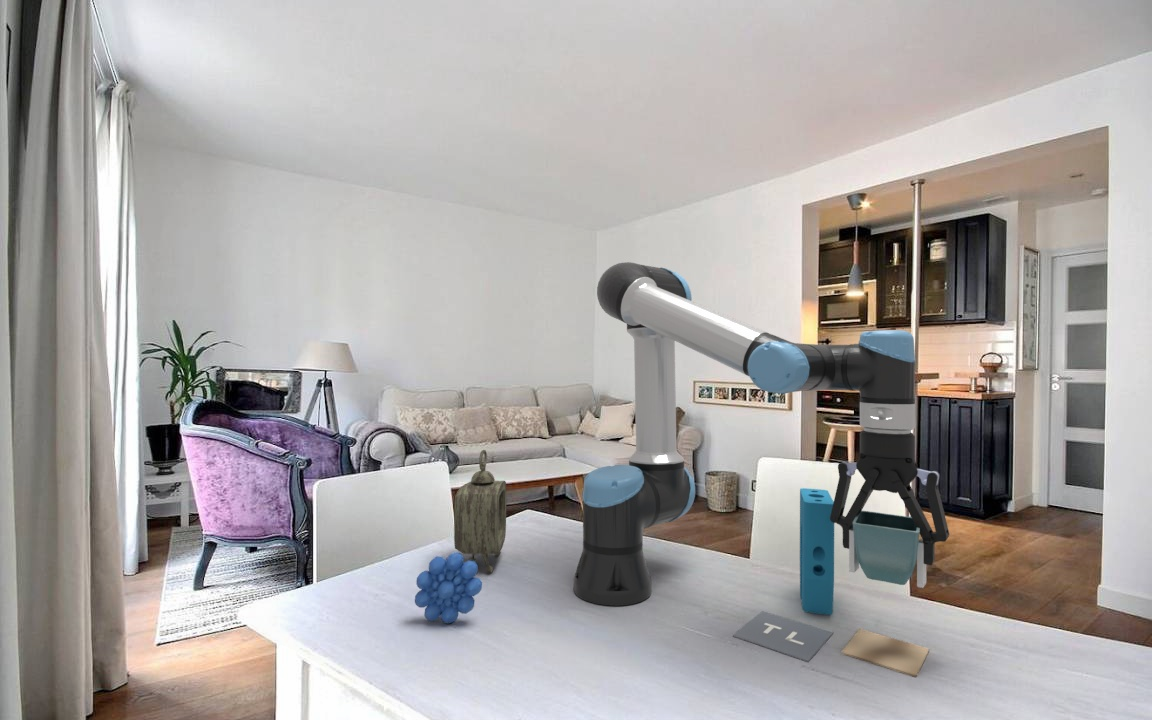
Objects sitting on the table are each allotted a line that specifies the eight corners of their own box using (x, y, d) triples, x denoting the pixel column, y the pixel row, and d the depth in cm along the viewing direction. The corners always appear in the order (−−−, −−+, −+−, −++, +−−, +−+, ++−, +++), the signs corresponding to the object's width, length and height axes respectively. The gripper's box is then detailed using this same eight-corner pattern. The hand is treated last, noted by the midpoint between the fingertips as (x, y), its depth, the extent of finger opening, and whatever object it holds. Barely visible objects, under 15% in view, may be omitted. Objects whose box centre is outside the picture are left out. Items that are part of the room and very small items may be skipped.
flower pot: (919, 594, 82) (919, 531, 82) (852, 581, 87) (851, 522, 87) (920, 574, 89) (920, 517, 89) (858, 564, 94) (858, 509, 94)
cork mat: (841, 653, 87) (841, 651, 87) (859, 630, 95) (859, 628, 95) (916, 677, 81) (916, 675, 81) (929, 650, 89) (929, 648, 89)
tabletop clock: (496, 577, 117) (497, 455, 118) (452, 576, 118) (453, 455, 118) (505, 553, 132) (506, 445, 132) (467, 553, 132) (467, 445, 132)
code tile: (732, 636, 93) (732, 634, 93) (762, 612, 102) (762, 610, 102) (808, 662, 85) (808, 660, 85) (833, 633, 94) (833, 631, 94)
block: (834, 619, 99) (835, 504, 99) (803, 615, 101) (804, 502, 101) (826, 593, 110) (827, 489, 110) (799, 589, 112) (799, 488, 112)
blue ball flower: (487, 613, 101) (488, 545, 101) (478, 631, 94) (478, 558, 94) (423, 610, 102) (424, 543, 102) (409, 628, 95) (409, 555, 95)
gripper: (807, 427, 92) (807, 567, 92) (967, 439, 78) (967, 603, 78) (822, 423, 98) (822, 555, 98) (973, 434, 84) (974, 587, 84)
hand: (886, 576), depth 88 cm, fingers closed on flower pot, 9 cm apart
